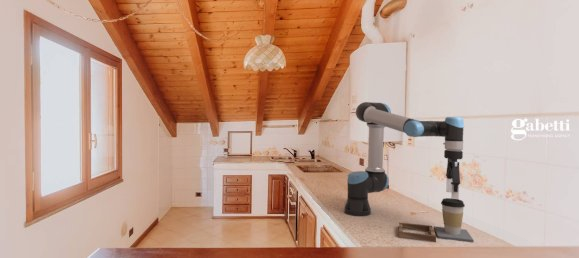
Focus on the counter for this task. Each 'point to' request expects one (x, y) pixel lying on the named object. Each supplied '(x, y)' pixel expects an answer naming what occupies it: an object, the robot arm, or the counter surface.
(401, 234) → the walnut collar
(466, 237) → the trivet mat
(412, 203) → the counter surface
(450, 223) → the coffee cup
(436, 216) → the counter surface
